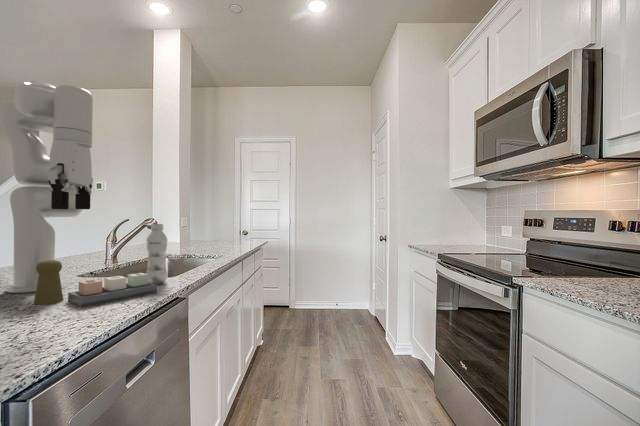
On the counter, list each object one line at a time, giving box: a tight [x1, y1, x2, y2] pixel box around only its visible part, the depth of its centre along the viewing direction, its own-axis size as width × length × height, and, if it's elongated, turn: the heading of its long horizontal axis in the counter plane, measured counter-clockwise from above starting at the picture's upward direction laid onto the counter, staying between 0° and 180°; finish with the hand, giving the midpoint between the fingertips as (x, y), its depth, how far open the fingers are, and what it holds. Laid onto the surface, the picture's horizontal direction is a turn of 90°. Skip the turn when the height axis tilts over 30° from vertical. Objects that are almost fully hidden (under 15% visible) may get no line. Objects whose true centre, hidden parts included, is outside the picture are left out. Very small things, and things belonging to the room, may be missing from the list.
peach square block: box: [78, 278, 103, 295], centre depth 84 cm, size 4×4×3 cm
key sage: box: [126, 272, 148, 287], centre depth 94 cm, size 4×4×3 cm
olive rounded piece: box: [33, 259, 64, 306], centre depth 84 cm, size 6×6×11 cm
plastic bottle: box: [145, 223, 168, 285], centre depth 106 cm, size 6×7×20 cm
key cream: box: [103, 275, 127, 291], centre depth 89 cm, size 4×4×3 cm
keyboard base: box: [67, 282, 158, 309], centre depth 89 cm, size 9×19×2 cm, turn 145°
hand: (72, 209), depth 77 cm, fingers open, 9 cm apart
